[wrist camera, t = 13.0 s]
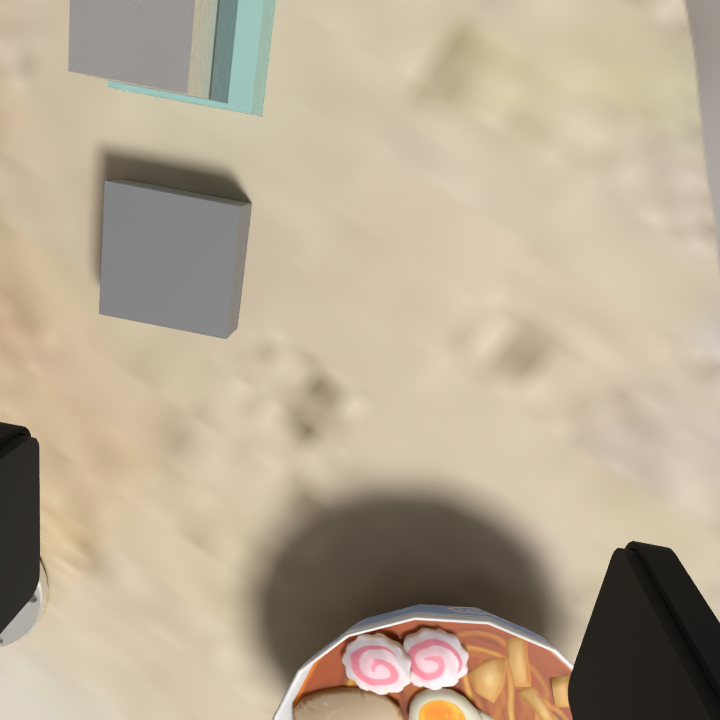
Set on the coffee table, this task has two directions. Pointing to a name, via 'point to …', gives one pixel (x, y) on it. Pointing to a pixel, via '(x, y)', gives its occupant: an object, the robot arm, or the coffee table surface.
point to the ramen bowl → (432, 671)
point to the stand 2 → (172, 257)
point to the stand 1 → (237, 62)
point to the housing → (156, 44)
